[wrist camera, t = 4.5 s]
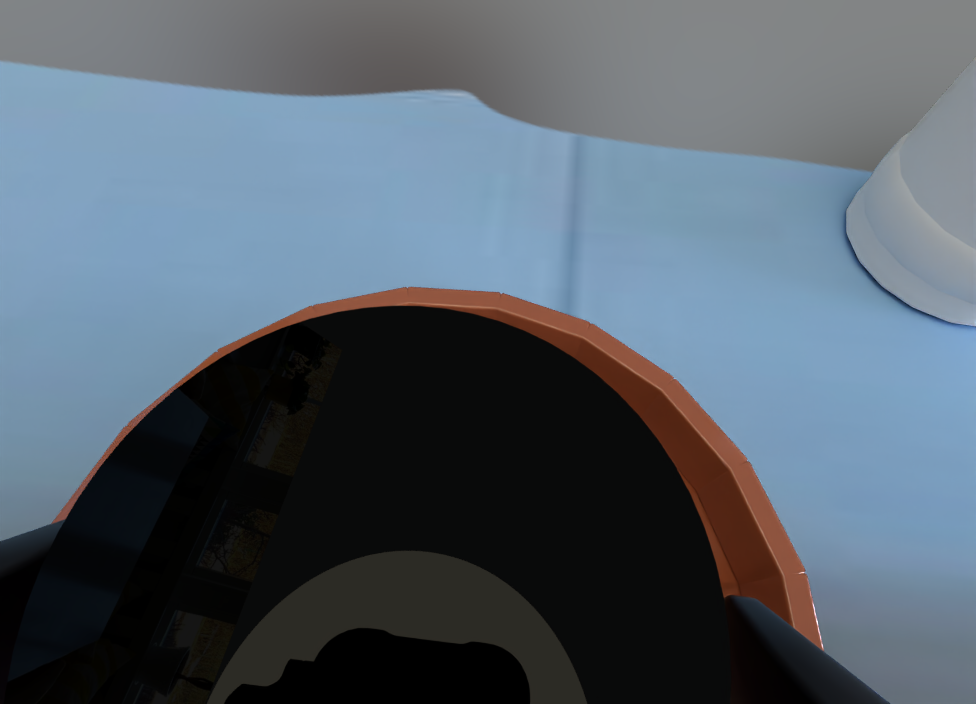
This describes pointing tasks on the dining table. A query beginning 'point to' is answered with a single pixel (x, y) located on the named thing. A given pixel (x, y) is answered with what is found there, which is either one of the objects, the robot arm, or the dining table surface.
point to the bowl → (666, 411)
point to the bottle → (925, 210)
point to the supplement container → (381, 535)
